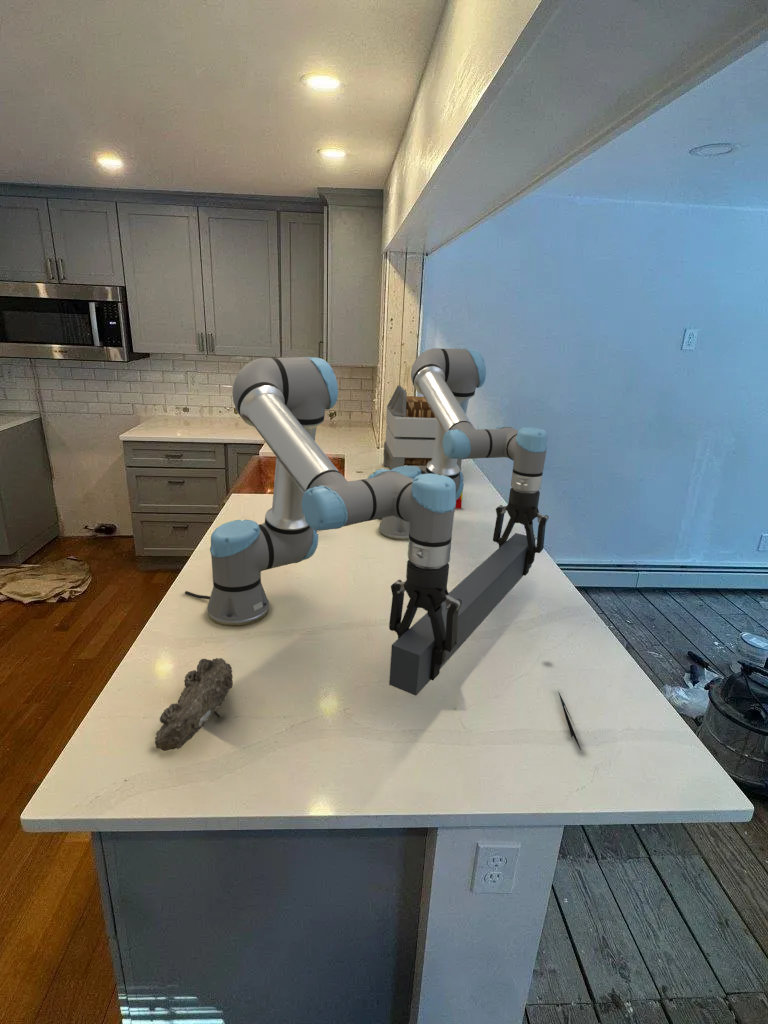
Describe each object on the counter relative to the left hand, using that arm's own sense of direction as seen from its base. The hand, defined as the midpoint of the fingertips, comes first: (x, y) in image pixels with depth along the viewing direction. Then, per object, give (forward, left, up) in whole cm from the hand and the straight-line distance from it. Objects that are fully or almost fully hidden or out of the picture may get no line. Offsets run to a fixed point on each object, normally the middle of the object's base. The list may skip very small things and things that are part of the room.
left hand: (419, 670), depth 109 cm
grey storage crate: (-124, +121, -10) cm, 173 cm away
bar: (-8, +26, -1) cm, 27 cm away
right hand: (-17, +52, 0) cm, 55 cm away
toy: (-90, +103, -10) cm, 137 cm away
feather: (+17, +25, -10) cm, 32 cm away
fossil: (-24, -34, -10) cm, 43 cm away
